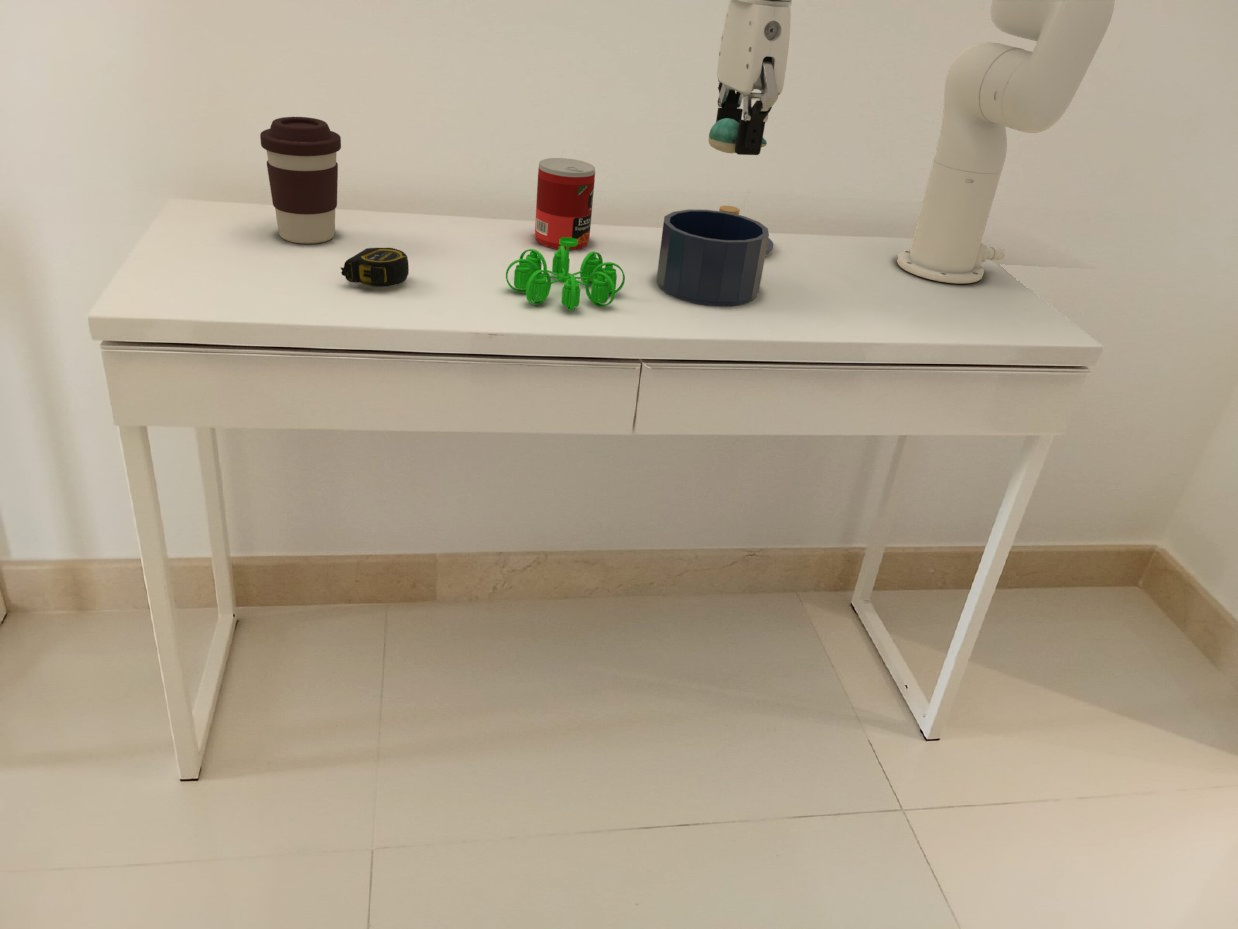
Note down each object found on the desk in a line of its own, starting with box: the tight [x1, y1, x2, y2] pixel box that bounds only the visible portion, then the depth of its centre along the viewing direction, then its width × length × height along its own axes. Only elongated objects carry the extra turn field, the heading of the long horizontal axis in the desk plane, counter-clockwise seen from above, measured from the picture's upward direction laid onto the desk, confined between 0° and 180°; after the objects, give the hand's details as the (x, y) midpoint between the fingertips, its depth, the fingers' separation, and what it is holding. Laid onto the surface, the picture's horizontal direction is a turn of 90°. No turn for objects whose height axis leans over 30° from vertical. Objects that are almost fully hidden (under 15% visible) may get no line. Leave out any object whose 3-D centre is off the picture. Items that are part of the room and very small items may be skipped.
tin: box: [656, 208, 770, 308], centre depth 130 cm, size 14×14×8 cm
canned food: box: [534, 157, 596, 251], centre depth 140 cm, size 8×8×11 cm
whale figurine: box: [708, 118, 768, 154], centre depth 123 cm, size 6×7×4 cm
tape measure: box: [340, 247, 410, 288], centre depth 121 cm, size 7×7×4 cm
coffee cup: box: [259, 116, 342, 244], centre depth 131 cm, size 10×10×15 cm
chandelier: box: [505, 237, 626, 312], centre depth 124 cm, size 15×15×7 cm
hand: (736, 145), depth 123 cm, fingers closed on whale figurine, 5 cm apart
